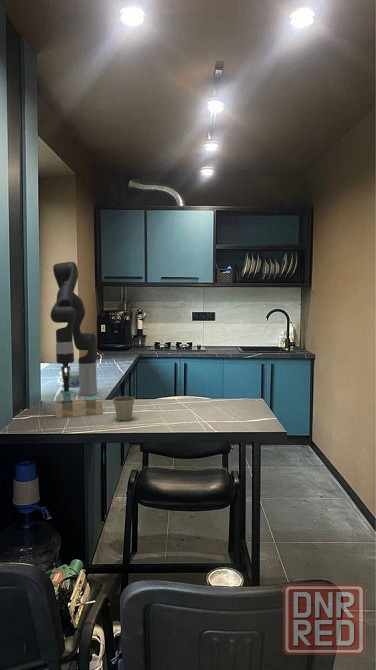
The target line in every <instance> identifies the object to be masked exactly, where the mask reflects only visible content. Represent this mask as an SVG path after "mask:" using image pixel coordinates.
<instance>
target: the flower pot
mask: <svg viewBox="0 0 376 670" xmlns="http://www.w3.org/2000/svg"><path fill="white" fill-rule="evenodd" d="M135 400H136V398H135V397H132V396H119V397H114V398H112V402H113V405H114V410H115V416H116V420H118V421H129V420H131V419H132V417H133V409H134V408H133V407H134V403H135Z"/></svg>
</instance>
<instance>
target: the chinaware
mask: <svg viewBox="0 0 376 670" xmlns="http://www.w3.org/2000/svg"><path fill="white" fill-rule="evenodd" d="M78 386H79V370H76V371H70V378H69V388H78ZM79 387H80V386H79Z"/></svg>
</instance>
